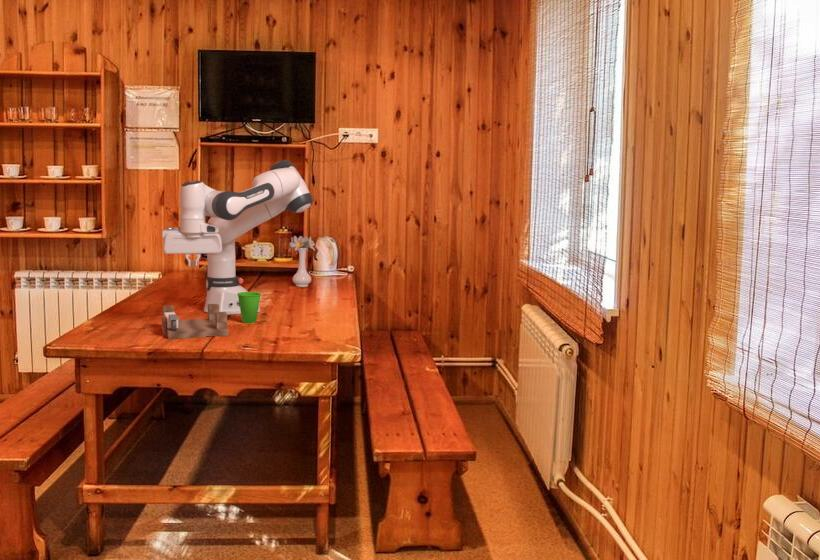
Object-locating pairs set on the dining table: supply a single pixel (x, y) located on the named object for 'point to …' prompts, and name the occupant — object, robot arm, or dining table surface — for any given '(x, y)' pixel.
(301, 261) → the flower vase
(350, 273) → the dining table surface
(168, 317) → the hinged leg
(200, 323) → the stool board
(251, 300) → the cup
